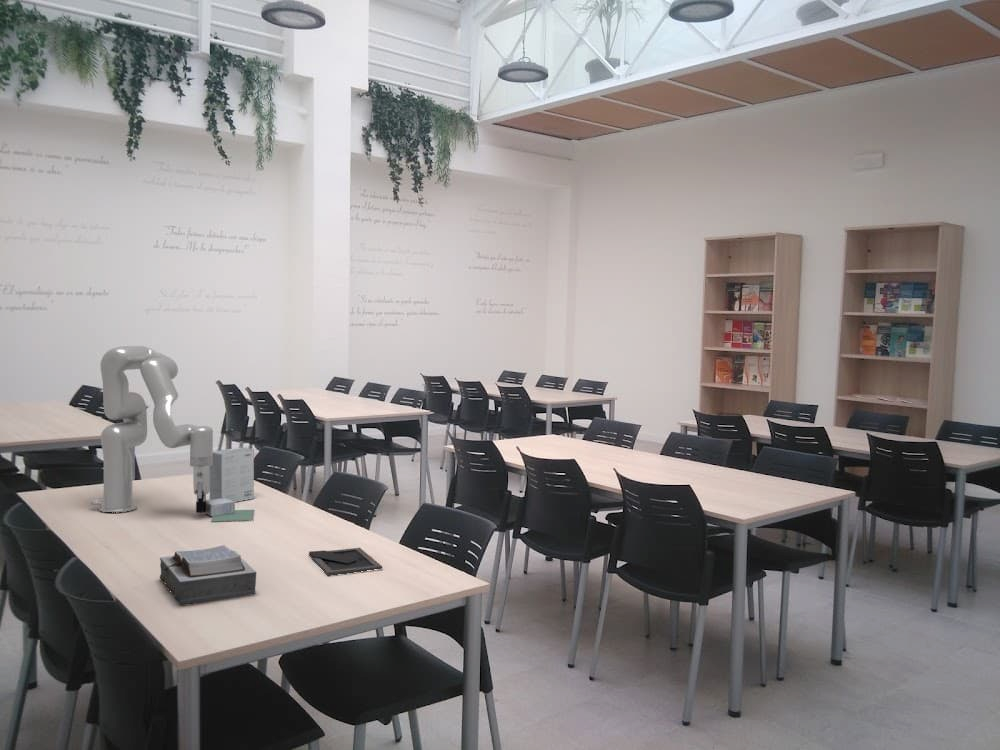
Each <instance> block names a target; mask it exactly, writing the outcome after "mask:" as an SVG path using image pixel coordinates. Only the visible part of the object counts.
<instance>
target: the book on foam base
mask: <svg viewBox="0 0 1000 750" xmlns="http://www.w3.org/2000/svg"><path fill="white" fill-rule="evenodd" d="M159 560H160V566H159V567H160V574H159V575H160V576H159V580H160V579H161V580H162V581H163V582H165V583H166V586H165V587H166V588H168V589H169V590H168V589H167V590H168V591H171V592H170V594H171V593H172V594H173V595H175V597H174V599H175V598H176V600H177V601H178V602H179V603H178V602H177V603H178V604H179V605H180V606H187V605H186V604H190V605H195V604H194V603H197V604H202V603H208V602H214V601H220V600H221V601H222V600H227V599H233V597H234V598H238V597H239V598H240V596H241V597H246V596H245V595H247V596H250V594H253V595H256V587H257V586H256V584H257V571H256V570H255V569H254V568H253V567H252V566H250V565H249V564H248V562H246V560H244V559H243V558H242V557H241V554H239V553H238V552H237V551H236V550H232V549H230V548H229V547H227V545H225V544H222V545H219V546H215V547H211V548H205V549H204V548H203V549H193V550H182V551H181V550H176V551H174V555H169V556H162V557H160V558H159ZM161 580H160V581H161ZM163 582H162V583H163ZM172 594H171V595H172ZM173 595H172V596H173ZM176 600H175V601H176Z"/></svg>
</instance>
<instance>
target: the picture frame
mask: <svg viewBox="0 0 1000 750" xmlns="http://www.w3.org/2000/svg"><path fill="white" fill-rule="evenodd" d="M309 556H310V557H311V558H312V559H311V558H310V557H309ZM308 557H309V558H310V559H311V560H312V562H313V563H316V564H317V565H318V566H319V567H320V568H321V569H322V570H323V571H324V572H323V571H322V570H321V569H320V568H319V567H318V566H317V565H316V564H315V565H316V566H317V567H318V568H319V569H320V570H321V571H322V572H323V573H324V574H325V575H326V576H327V577H332V576H331V575H336V576H339V575H338V574H344V575H348V574H347V573H353V574H355V573H354V572H361V571H367V570H374V569H381V568H382V569H383V566H382V565H381V564H380V563H379V562H377V560H375V558H373V557H372V556H371V555H370V554H368V553H367V552H365V551H364V550H363V549H362V548H361V547H355V548H345V549H344V548H343V549H335V550H314V551H308ZM361 573H362V572H361Z"/></svg>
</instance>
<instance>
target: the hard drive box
mask: <svg viewBox="0 0 1000 750" xmlns="http://www.w3.org/2000/svg"><path fill="white" fill-rule="evenodd" d="M254 460H255V450H254V449H253V448H248V447H236V448H229V449H228V448H226V449H222V450H215V451H213V465H212V466H210V492H209V500H213V499H222V498H227V499H229V500H231V501H233V502H235V503H238V501H239V502H243V500H245V501H249V500H253V498H254V499H255V482H254V481H255V470H254V469H255V461H254ZM248 499H249V500H248Z"/></svg>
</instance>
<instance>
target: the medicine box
mask: <svg viewBox="0 0 1000 750" xmlns="http://www.w3.org/2000/svg"><path fill="white" fill-rule="evenodd" d="M235 503H236V502H233V501H231V500H229V499H227V498H222V499H213V500H210V499H206V512H205V513H204V514H206V515H208V516H210V517H213V516H218V515H226V514H233V513H235V510H236V506H235Z"/></svg>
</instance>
